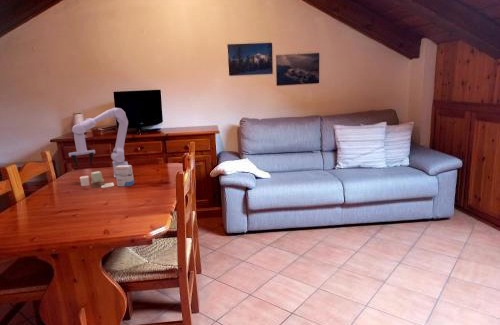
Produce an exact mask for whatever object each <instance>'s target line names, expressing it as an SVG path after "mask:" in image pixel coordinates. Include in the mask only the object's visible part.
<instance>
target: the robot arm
mask: <svg viewBox="0 0 500 325" xmlns="http://www.w3.org/2000/svg"><path fill="white" fill-rule="evenodd" d="M107 118H113V119H115V120H116V121H117V122H118V129H117V130H118V131H117V135H116V140H115V146H114V148H113V151H112V152H111V154H110V158H111V160H112V168H113V177H114V178H115V179H116V172H115V167H116V166H119V165H129V163H128V161H127V160H126V161H125V149H124V148H125V141H126V136H127V132H128V126H129V120H128V117H127V115H126V111H124V109H122V108H121V107H112V108H110V109H107V110H105V111H104V112H102V113H100V114H99V115H97V116H95V117H93V118H91V117H89V118H88V117H86V118H85V119H84V120H83V121H81V122H80V121H79V122H78V124H75V125H73V126H72V129H71V132H72V133H73V136H74V143H75V150H76V151H73V152H68V157H69V158H70V157H71V158H70V159H72V161H73V162H74V163H75V166H76V168H79V164H78V159H77V156H83V155H88V156H89V164H90V166H92V165H93V164H92V163H93V158H94V154H96V150H95V149H89V150H88V148H87V142H86V136H85V132H87V131H90V130H91V129H92V128H94V127H96V125H97V123H99V122H102V121H103V120H106V119H107Z"/></svg>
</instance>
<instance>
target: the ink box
mask: <svg viewBox="0 0 500 325" xmlns="http://www.w3.org/2000/svg"><path fill="white" fill-rule="evenodd" d="M115 172H116V178H115V179H116V185H117V187H133V185H135V179H134V173H133V172H134V171H133V165H131V164H128V165H119V166H116V167H115Z"/></svg>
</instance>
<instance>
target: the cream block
mask: <svg viewBox="0 0 500 325" xmlns="http://www.w3.org/2000/svg"><path fill="white" fill-rule="evenodd" d="M79 180H80V186H81V187H86V186H90V184H91V182H90V177H89V175H82V176H80V177H79Z"/></svg>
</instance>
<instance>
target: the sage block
mask: <svg viewBox="0 0 500 325" xmlns="http://www.w3.org/2000/svg"><path fill="white" fill-rule="evenodd" d="M90 177H91V180H92V181H93V182H98V181H102V179H103V175H102V172H101V171H99V170H98V171H93V172H90Z"/></svg>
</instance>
